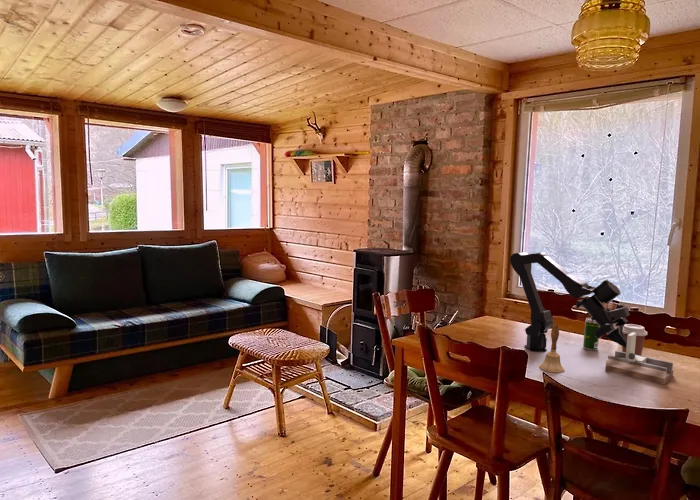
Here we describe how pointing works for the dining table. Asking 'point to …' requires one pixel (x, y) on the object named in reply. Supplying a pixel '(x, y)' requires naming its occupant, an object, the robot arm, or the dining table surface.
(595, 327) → the beer can
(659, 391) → the dining table surface
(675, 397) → the dining table surface
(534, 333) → the robot arm
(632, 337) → the carriage
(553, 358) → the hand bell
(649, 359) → the stand
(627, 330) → the coffee cup
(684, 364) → the dining table surface
